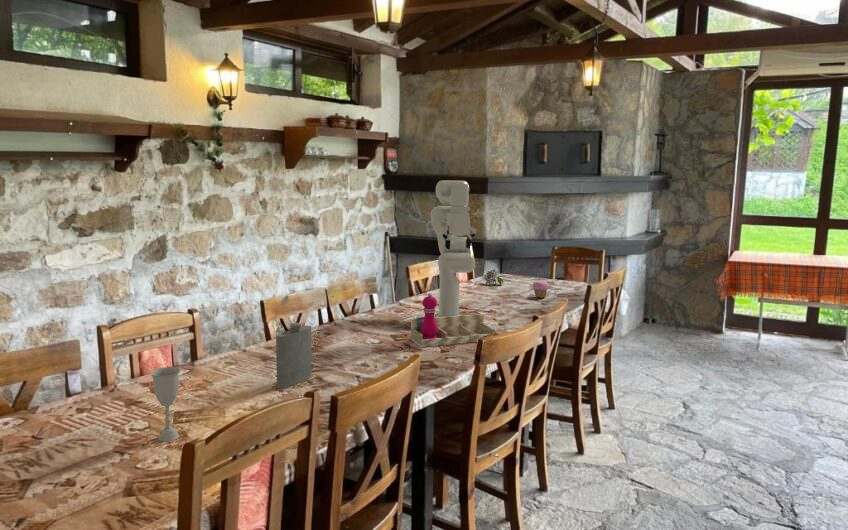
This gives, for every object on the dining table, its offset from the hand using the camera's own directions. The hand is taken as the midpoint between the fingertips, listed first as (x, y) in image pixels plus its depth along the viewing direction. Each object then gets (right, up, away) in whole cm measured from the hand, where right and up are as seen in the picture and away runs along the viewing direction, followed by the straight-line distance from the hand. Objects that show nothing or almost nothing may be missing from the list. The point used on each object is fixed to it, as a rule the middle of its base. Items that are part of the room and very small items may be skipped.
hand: (458, 248), depth 279 cm
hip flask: (-58, -46, -68) cm, 101 cm away
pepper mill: (-13, -39, -17) cm, 44 cm away
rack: (-3, -39, -13) cm, 41 cm away
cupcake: (+51, -26, +78) cm, 96 cm away
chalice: (-82, -53, -112) cm, 149 cm away
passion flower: (+28, -20, +116) cm, 121 cm away
